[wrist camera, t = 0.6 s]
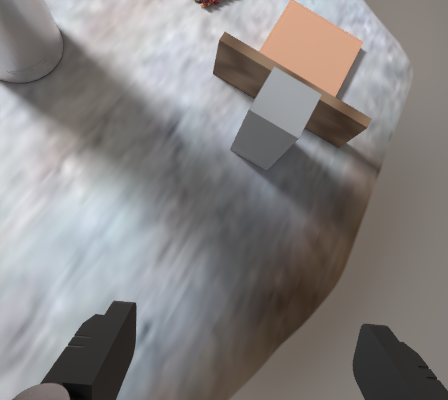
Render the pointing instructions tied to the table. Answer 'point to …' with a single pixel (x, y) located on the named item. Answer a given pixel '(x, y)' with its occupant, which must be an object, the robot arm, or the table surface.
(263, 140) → the plain grey block
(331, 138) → the walnut screen
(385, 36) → the table surface
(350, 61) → the terracotta tile
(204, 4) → the woven mat
